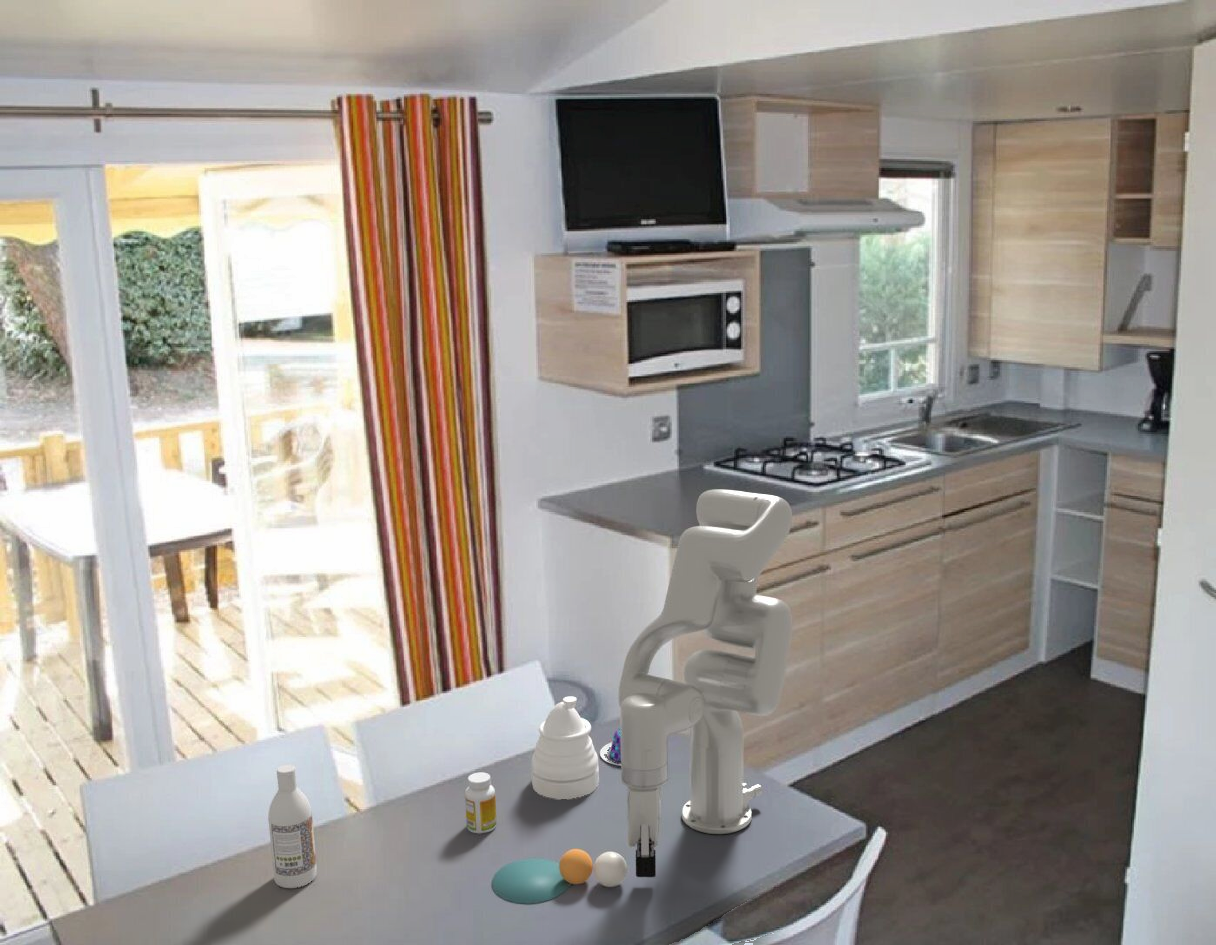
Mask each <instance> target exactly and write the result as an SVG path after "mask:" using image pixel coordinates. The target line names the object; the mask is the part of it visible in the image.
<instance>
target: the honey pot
mask: <svg viewBox="0 0 1216 945" xmlns="http://www.w3.org/2000/svg"><path fill="white" fill-rule="evenodd" d="M577 701H578V700H577V697H575V696H573V695H571V696H565V697H564V698H563V699H562V701H561V702H558V703H557V704H555V705H554V706H553V708H552V709H551V710H550V711H549V713H548V715H547V717H546V719H545V721H542V723H541V724H539V727H538V732H539V736H538V739H537V741H536V744H535V749H534V753H533V754H532V756H531V784H532V785H531V786H532V789H533V790H534V791H535V793H536V792H537V794H538V795H540V796H541V795H544V796H547V797H551V798H556V799H555V800H561V799H567V800H573V799H572V798H575V799H577V798H576V797H579V798H582V797H581V796H583V797H585V796H584V795H586V796H588V795H590V794H591V793H593V792H594V791H595V790H596V789H597V788H598V787H599V784H598V783H600V775H599V774H600V772H599V756H598V754H597V751H596V750H595V746H594V744H593V740H592V738H591V737H590V736H589V734H590V733H591V731H592V725H591V723H590V722H589V720H587V719H586V718H584V717H581V716H580V715H579V712H578V711H577V710H576V708H575V706H576V704H577ZM596 787H597V788H596ZM587 794H588V795H587ZM544 796H543V797H544ZM547 797H546V798H547ZM551 798H550V799H551Z"/></svg>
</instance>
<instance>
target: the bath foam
mask: <svg viewBox="0 0 1216 945" xmlns="http://www.w3.org/2000/svg"><path fill="white" fill-rule="evenodd" d="M276 778H277V779H276V780H277V788H278V790H277V792H276V794H275V795H274V796H273V798H272V800H271V803H270V805H269V809H268V828H269V829H268V830H269V837H270V848H271V860H272V868H273V869H272V870H273V880H274V882H275V884H276V885H277V886H279V887H281V888H284V889H297V887H298V888H302V887H305V886H306V885H309V884H310V883H312V882H313V881H314V880H315V879H316V877H317V872H318V868H317V858H316V846H315V844H316V843H315V833H314V831H315V830H314V823H313V811H312V807H311V804H310V801H309V799H308V798H307V796H306V795H305V793H303V792H302V791H301V790H300V788H299V787H297V784H298V783H297V776H296V767H295V766H294V765H291V764H284V765H281V766H279V767H277V769H276ZM311 881H312V882H311ZM308 883H309V884H308ZM301 886H302V887H301Z"/></svg>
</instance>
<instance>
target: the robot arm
mask: <svg viewBox="0 0 1216 945" xmlns="http://www.w3.org/2000/svg"><path fill="white" fill-rule="evenodd" d="M695 510H696V511H695V512H696V518H697V522H698V523H699V525H696V526H692V527H689V528H687V529H685V530H684V531H683V532H682V533H681V535H680V538H679V539H678V543H677V544H678V545H677V547H676V552H675V557H674V561H673V565H672V569H671V574H670V576H669V577H670V579H669V581H668V588H667V590H666V594H665V599H664V600H665V601H664V604H663V609H662V611H661V612H660V614H659V616H657V617H656V619H654V620H652V622H651V623H649V624H648V625H647V626H646V627H645V628H644V629H643V630H642V631H641V632H640V633H639V635H638V636H637V637H636V639H635V640H634V641H633V643H632V644H631V646H630V647H629V649H628V652H627V654H626V656H625V659H624V664H623V667H622V668H623V669H622V671H621V672H622V673H621V674H620V675H621V676H620V680H619V686H618V694H617V696H618V697H617V700H618V705H619V716H620V717H619V719H620V720H619V721H620V724H619V727H620V728H619V729H620V733H621V762H620V764H621V766H620V772H621V773H620V774H621V776H620V777H621V778H620V779H621V782H622V785H624V786H626V787H627V790H626V791H627V792H626V794H627V796H626V802H627V803H626V808H627V810H626V812H627V817H626V818H627V819H626V821H627V846H628V847H629V848H633V847H636V849H635V876H636V877H637V878H656V874H657V873H656V870H657V869H656V862H657V861H656V849H655V848H656V847H657V846H658V843H659V833H660V824H661V797H662V795H661V788H662V787H664V786H665V785H666V784H667V783H668V780H669V757H668V756H669V744H668V743H669V737H670V736H671V735H674V734H677V733H681V732H683V731H686V730H688V729H689V797H690V799H689V800H688V801H687V802H686V803H685V804H684V805H683V807H682V809H681V818H682V820H683V822H684V824H686V825H687V826H688V827H690V829H692V830H695V831H698V832H700V833H705V834H711V835H712V834H713V835H724V834H726V835H727V834H732V833H736V832H739V831H741V830H743V829H744V828H746V827H747V826H748V825H750V823H751V822H752V818H753V816H752V815H753V812H752V808H751V807H750V805H748V802H750V801H751V799H752V798H756V797H758V796H760V795H762V794H763V788H762V786H761V785H760V784H754V785H752V786H750V787H749V788H748V785H747V783H746V782H744V725H743V722H742V718H741V716H740V714H739V712H740V713H744V714H747V715H752V716H758V717H759V716H760V717H766V716H769V715H771V714H772V713H773V712H775V710H776V709H777V708H778V706H779V703H780V701H781V697H782V692H783V689H784V688H783V687H784V683H785V679H786V678H785V677H786V671H787V665H788V659H789V654H790V648H791V642H792V637H793V636H792V634H793V616H792V612H791V609H790V608H789V606H788V604H786V602H785V601H783V600H781V599H778V598H777V597H772V596H765V595H761V594H757V590H758V589H757V588H758V587H757V586H758V580H759V576H760V575H761V573H762V572H763V571H764V570H765V568H766V567H767V566H768V564H769V563H770V562H771V560H772V559H773V557H774V556H775V554H776V553H777V551H779V549H780V548H781V547H782V545H783V543H784V542H785V541H786V539H787V537H788V536H789V533H790V531H791V528H792V523H793V512H792V508H791V506H790V504H789V502H788V501H787V500H785V499H784V498H782V497H780V496H777V495H773V494H765V493H764V494H763V493H757V492H748V491H747V492H746V491H741V490H735V489H734V490H733V489H724V488H723V489H721V488H720V489H718V488H717V489H715V488H713V489H709V490H706V491H704V492H702V493H701V494H700V495H699V497H698V498H697V501H696V509H695ZM700 631H702V632H703V634H704V635H705V637H706V638H708V639H709V640H711V641H713V642H716V643H720V644H723V645H729V646H734V647H738V648H744V649H749V650H753V651H754V657H751V656H745V655H740V654H738V653H737V654H736V653H732V652H727V651H722V650H718V649H717V650H716V649H702V650H697V651H695V652H694V653H692V654H691V655H690V656H689V657H688V659H687V660H686V662H685V665H684V668H683V673H682V674H683V675H682V676H683V677H682V678H683V679H682V680H683V682H681V681H676V680H673V679H669V678H664V677H659V676H656V675H651V674H649V672H650V668H651V664H652V662H653V660H654V657H655V656H656V654H657V653H658V651H659V650H660V649H661V648H662V647H663V646H664V645H666V644H667V643H668V642H670V641H672V640H674V639H676V638H679V637H681V636H684V635H688V634H691V633H697V632H700Z"/></svg>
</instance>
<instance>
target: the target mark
mask: <svg viewBox="0 0 1216 945" xmlns="http://www.w3.org/2000/svg"><path fill="white" fill-rule="evenodd" d="M559 864H560V862H558V861H554V860H550V859H546V858H545V859H544V858H535V857H534V858H525V859H519V860H516V861H515V860H514V861H512V862H511V863H507V864H505V865H504V866H502V867H501V868H500V869H498V870H497V871H496V872H495V874H494V875H493V878H492V880H491V881H492V882H491V886H492V890H493V891H494V892H495V894H496V895H497V896H499V897H500V898H502V899H504V900H506V901H509V902H512V903H516V904H529V905H530V904H539V903H544V902H547V901H550V900H553V899H555V898H557V897H559V896H561V895H562V894H563V893H565V892H566V891H567V889H568V888H569V887H570V885H571V883H569V882H567V881H566V880H564V878H563V877H562V876H561V873H560V870H559Z"/></svg>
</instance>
